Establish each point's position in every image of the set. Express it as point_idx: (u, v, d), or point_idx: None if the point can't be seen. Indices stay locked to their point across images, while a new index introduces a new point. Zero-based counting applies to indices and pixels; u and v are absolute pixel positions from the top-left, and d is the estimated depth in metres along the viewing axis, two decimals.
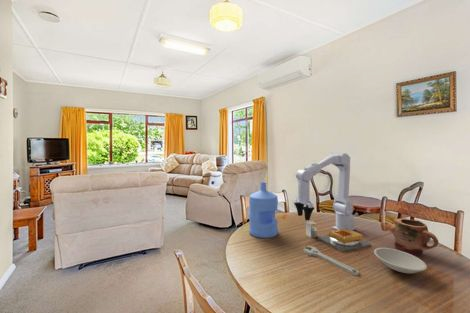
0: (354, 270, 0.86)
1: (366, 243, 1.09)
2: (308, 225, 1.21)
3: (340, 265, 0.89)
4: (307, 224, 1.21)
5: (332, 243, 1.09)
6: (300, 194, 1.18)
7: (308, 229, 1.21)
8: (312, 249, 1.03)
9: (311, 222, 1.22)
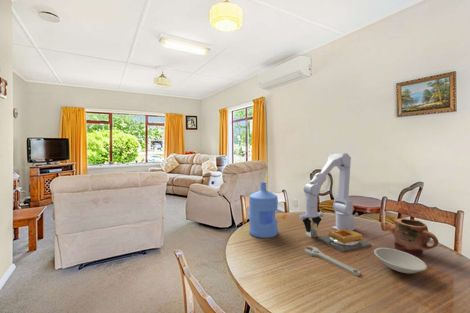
0: (355, 270, 0.86)
1: (366, 243, 1.09)
2: None
3: (341, 265, 0.89)
4: None
5: (332, 243, 1.09)
6: None
7: None
8: (313, 249, 1.03)
9: (311, 222, 1.22)
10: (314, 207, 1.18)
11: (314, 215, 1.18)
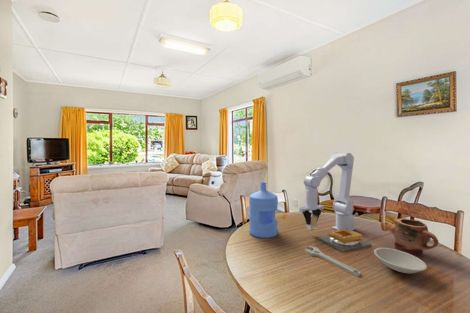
0: (356, 271, 0.86)
1: (366, 243, 1.09)
2: None
3: (342, 266, 0.89)
4: None
5: (332, 243, 1.09)
6: None
7: None
8: (314, 249, 1.02)
9: (311, 215, 1.22)
10: (314, 199, 1.18)
11: (314, 207, 1.18)
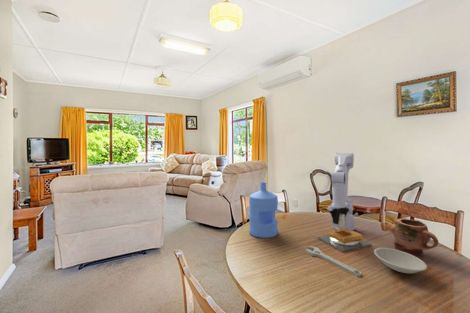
0: (356, 271, 0.86)
1: (366, 243, 1.09)
2: None
3: (342, 266, 0.89)
4: None
5: (332, 243, 1.09)
6: None
7: None
8: (314, 249, 1.02)
9: None
10: (343, 197, 1.10)
11: (343, 205, 1.10)
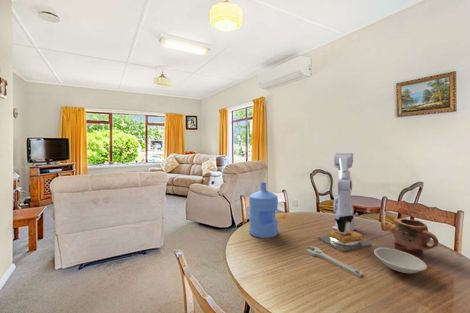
0: (357, 271, 0.85)
1: (366, 243, 1.09)
2: None
3: (343, 266, 0.88)
4: None
5: (332, 243, 1.09)
6: (338, 204, 1.13)
7: None
8: (315, 250, 1.02)
9: None
10: (349, 204, 1.09)
11: (349, 213, 1.09)
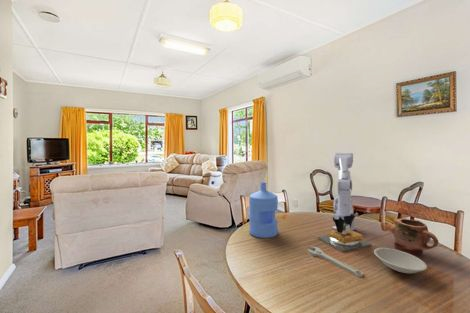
0: (358, 271, 0.85)
1: (366, 243, 1.09)
2: None
3: (344, 266, 0.88)
4: None
5: (332, 243, 1.09)
6: (338, 204, 1.13)
7: None
8: (316, 250, 1.02)
9: None
10: (349, 204, 1.09)
11: (349, 213, 1.09)
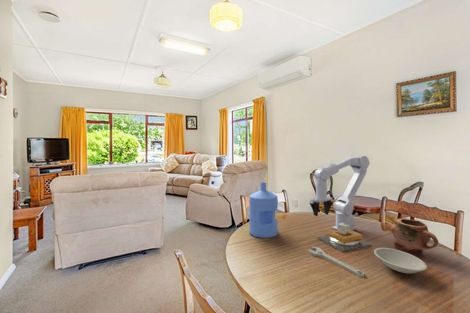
0: (360, 272, 0.85)
1: (366, 243, 1.09)
2: (341, 227, 1.11)
3: (345, 266, 0.88)
4: (340, 226, 1.12)
5: (332, 243, 1.09)
6: None
7: (340, 232, 1.12)
8: (317, 250, 1.02)
9: (343, 224, 1.13)
10: (324, 191, 1.24)
11: (324, 199, 1.24)
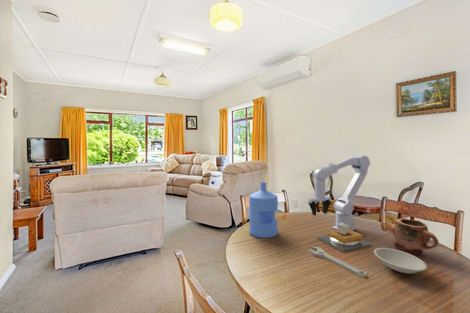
0: (361, 272, 0.85)
1: (366, 243, 1.09)
2: (341, 227, 1.11)
3: (347, 266, 0.88)
4: (340, 226, 1.12)
5: (332, 243, 1.09)
6: None
7: (340, 232, 1.12)
8: (318, 250, 1.02)
9: (343, 224, 1.13)
10: (322, 191, 1.25)
11: (322, 199, 1.25)
